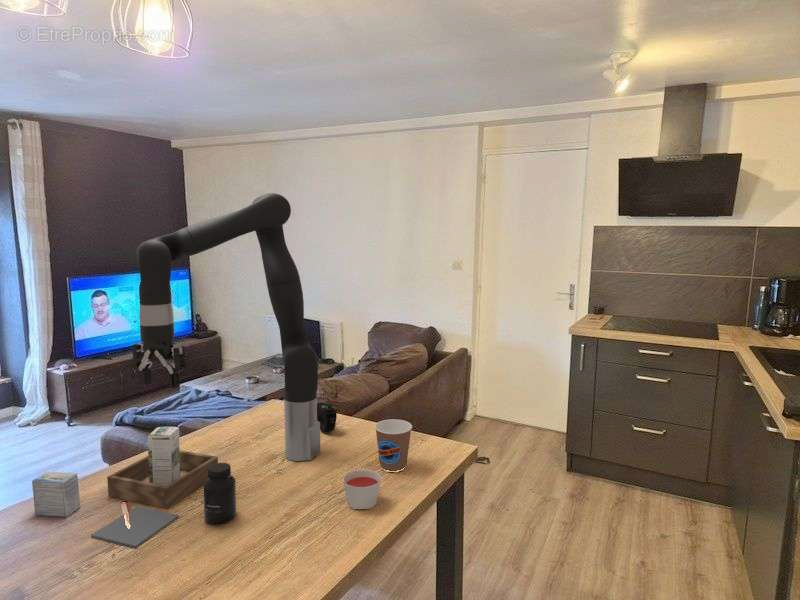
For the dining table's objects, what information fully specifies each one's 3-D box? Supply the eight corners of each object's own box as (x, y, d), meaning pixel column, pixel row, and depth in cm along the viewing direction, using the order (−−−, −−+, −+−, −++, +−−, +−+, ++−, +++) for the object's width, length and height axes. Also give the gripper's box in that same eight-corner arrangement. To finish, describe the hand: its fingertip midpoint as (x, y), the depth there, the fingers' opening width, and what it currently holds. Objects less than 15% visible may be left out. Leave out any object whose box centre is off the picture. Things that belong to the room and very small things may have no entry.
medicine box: (81, 507, 116) (78, 472, 115) (66, 518, 112) (63, 481, 111) (50, 505, 117) (47, 470, 116) (34, 516, 113) (31, 480, 112)
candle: (364, 489, 125) (364, 465, 124) (388, 503, 119) (388, 478, 118) (335, 502, 119) (335, 477, 118) (359, 517, 112) (359, 491, 112)
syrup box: (158, 480, 130) (155, 426, 128) (181, 479, 130) (179, 426, 128) (149, 491, 124) (146, 435, 122) (173, 490, 124) (170, 434, 123)
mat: (178, 517, 112) (178, 515, 112) (135, 548, 101) (135, 545, 101) (137, 508, 116) (137, 506, 116) (91, 537, 105) (90, 534, 105)
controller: (326, 438, 157) (326, 407, 156) (311, 425, 168) (311, 397, 166) (339, 435, 160) (338, 405, 158) (323, 423, 170) (323, 395, 169)
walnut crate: (218, 474, 133) (217, 456, 132) (167, 508, 116) (166, 488, 115) (164, 464, 138) (163, 447, 138) (108, 496, 121) (107, 476, 121)
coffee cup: (368, 472, 135) (368, 429, 133) (383, 456, 144) (383, 417, 143) (403, 479, 131) (403, 435, 129) (417, 463, 140) (417, 422, 139)
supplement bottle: (206, 529, 108) (204, 476, 106) (202, 513, 114) (200, 464, 112) (239, 521, 111) (237, 470, 109) (234, 506, 117) (232, 458, 116)
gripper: (191, 321, 123) (194, 384, 125) (146, 318, 128) (149, 379, 130) (168, 326, 116) (172, 393, 118) (121, 322, 121) (125, 387, 123)
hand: (160, 385), depth 124 cm, fingers open, 8 cm apart
